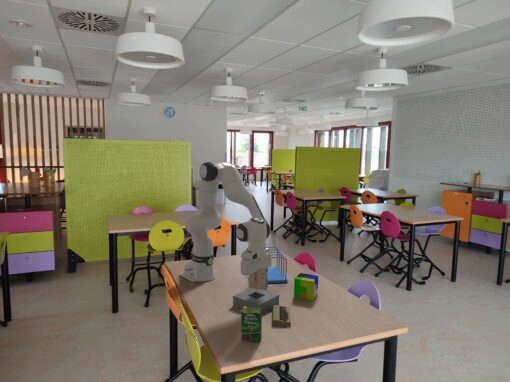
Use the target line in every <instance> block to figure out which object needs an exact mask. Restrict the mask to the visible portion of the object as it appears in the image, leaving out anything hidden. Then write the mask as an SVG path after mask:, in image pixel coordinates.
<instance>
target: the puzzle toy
mask: <svg viewBox="0 0 510 382" xmlns="http://www.w3.org/2000/svg"><path fill="white" fill-rule="evenodd" d="M293 281H294V282H293V298H298V299H303V300H308V301H314V300H315V298H316V297H317V295H318V293H319V275H316V274H309V273H303V272H299V274H297V276H295V277H294V279H293Z"/></svg>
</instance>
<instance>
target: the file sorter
mask: <svg viewBox="0 0 510 382" xmlns="http://www.w3.org/2000/svg"><path fill="white" fill-rule="evenodd" d="M267 248H268V249H269V250H270V253H271V258H272V259H276V266H271V267H268V279H267V284H279V283H280V284H283V283H284V284H285V283H287V284H288V278H287V273H288V272H287V269H288V266H287V264H288V259H287V258H286V257H285V256H284V255H283V254H282V252H280V250H279V249H278V247H276V246H266V249H267Z"/></svg>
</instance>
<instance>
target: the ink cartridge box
mask: <svg viewBox="0 0 510 382" xmlns="http://www.w3.org/2000/svg"><path fill="white" fill-rule="evenodd" d="M267 279H268V268H266V269H264V273H263V282H262V288H261V289H263V290H266V291H267V289H268V283H267ZM250 288H251V277H250V275H248V289H250ZM248 289H247V290H248Z"/></svg>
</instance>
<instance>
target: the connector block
mask: <svg viewBox="0 0 510 382" xmlns="http://www.w3.org/2000/svg"><path fill="white" fill-rule="evenodd" d="M254 277H255V278H256V279H255V281H254V282H252V281H251V288H252V289H256V290H259V289H261V288H262V282H263V268H260V269H258V270H257V272H255V273H254Z"/></svg>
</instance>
